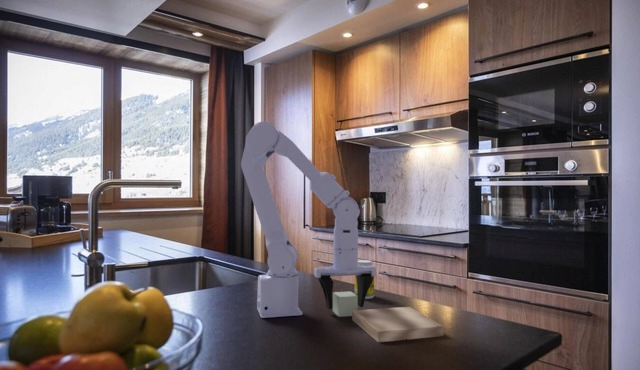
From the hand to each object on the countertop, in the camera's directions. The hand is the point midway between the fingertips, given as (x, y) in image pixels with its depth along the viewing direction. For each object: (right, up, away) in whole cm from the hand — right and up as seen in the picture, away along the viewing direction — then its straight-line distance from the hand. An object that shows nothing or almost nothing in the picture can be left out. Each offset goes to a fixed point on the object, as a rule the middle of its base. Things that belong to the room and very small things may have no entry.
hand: (345, 306), depth 96 cm
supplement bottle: (+6, -2, +15) cm, 16 cm away
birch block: (+10, -2, -10) cm, 14 cm away
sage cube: (0, -2, 0) cm, 2 cm away
